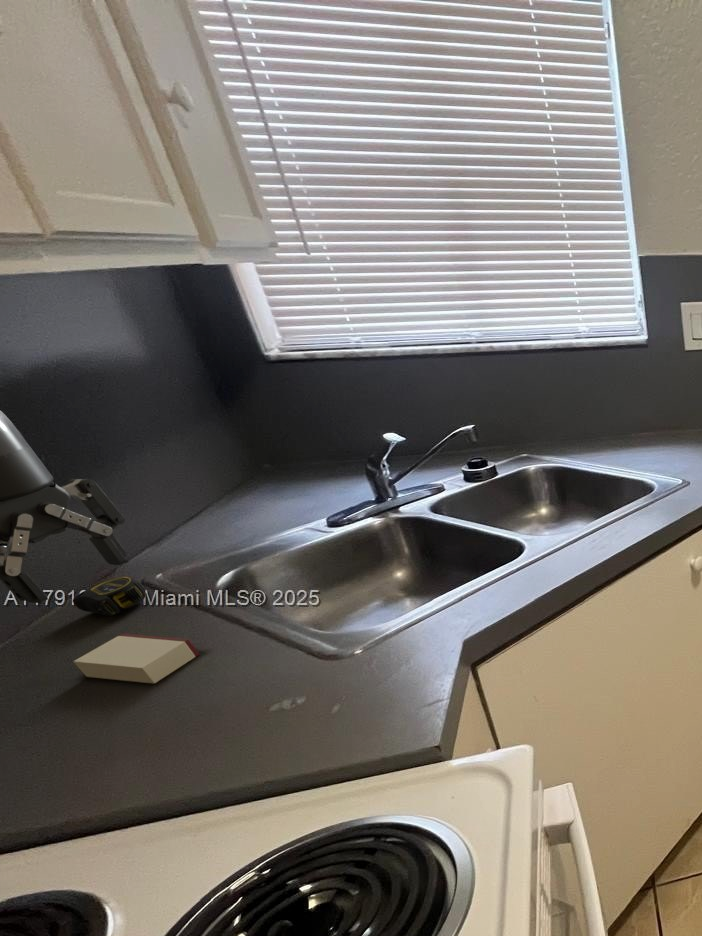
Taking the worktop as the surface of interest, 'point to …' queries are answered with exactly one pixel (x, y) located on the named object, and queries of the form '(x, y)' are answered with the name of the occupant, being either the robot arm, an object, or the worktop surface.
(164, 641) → the pocket book
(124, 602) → the tape measure
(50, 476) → the robot arm
